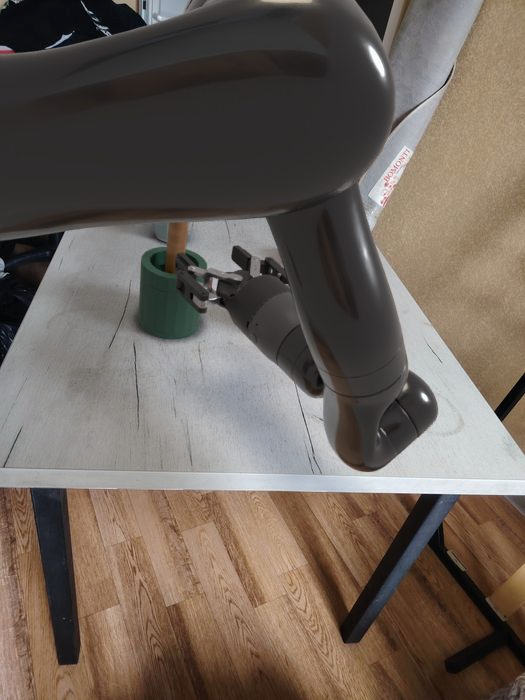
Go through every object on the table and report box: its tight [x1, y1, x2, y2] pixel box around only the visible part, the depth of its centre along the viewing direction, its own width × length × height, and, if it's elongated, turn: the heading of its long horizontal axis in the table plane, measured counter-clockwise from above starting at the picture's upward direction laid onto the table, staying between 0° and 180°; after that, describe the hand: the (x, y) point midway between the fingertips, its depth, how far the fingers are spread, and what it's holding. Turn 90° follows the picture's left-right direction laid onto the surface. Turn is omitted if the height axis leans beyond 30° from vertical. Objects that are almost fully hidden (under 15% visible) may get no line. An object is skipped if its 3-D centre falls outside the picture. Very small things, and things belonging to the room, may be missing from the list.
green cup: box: [138, 246, 208, 340], centre depth 76 cm, size 10×10×11 cm
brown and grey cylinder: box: [165, 222, 189, 274], centre depth 73 cm, size 4×4×18 cm
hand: (207, 255), depth 64 cm, fingers open, 8 cm apart
